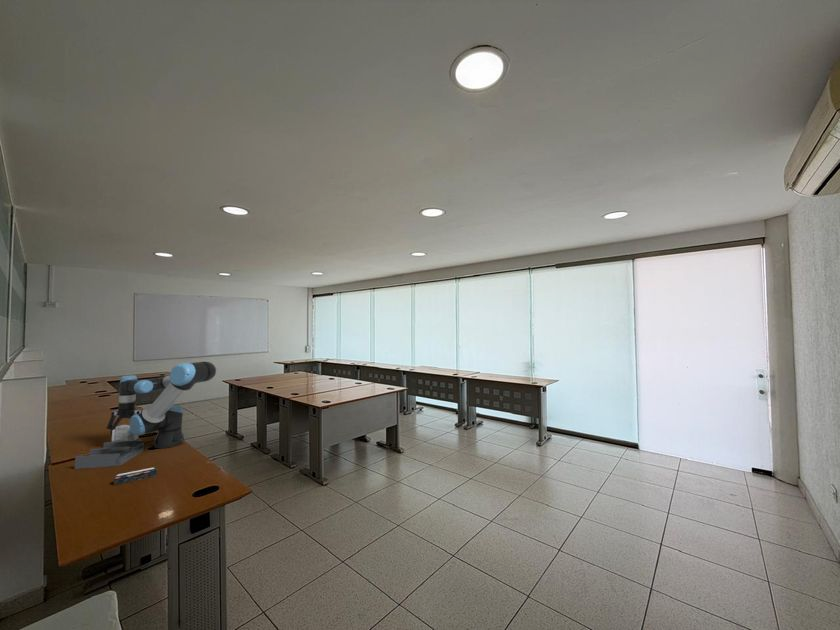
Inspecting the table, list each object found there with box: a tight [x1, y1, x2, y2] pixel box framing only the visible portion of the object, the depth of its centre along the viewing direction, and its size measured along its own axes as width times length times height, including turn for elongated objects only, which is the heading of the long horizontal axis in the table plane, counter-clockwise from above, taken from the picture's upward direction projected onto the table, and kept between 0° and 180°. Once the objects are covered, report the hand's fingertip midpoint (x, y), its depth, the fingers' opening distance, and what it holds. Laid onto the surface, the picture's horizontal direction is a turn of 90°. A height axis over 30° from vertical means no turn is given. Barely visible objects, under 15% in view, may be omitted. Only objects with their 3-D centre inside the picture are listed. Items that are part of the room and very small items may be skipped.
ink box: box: [114, 424, 135, 442], centre depth 195 cm, size 9×5×12 cm, turn 85°
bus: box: [113, 467, 158, 486], centre depth 153 cm, size 14×25×4 cm, turn 130°
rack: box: [74, 439, 145, 470], centre depth 178 cm, size 19×22×6 cm
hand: (124, 440), depth 195 cm, fingers open, 10 cm apart
